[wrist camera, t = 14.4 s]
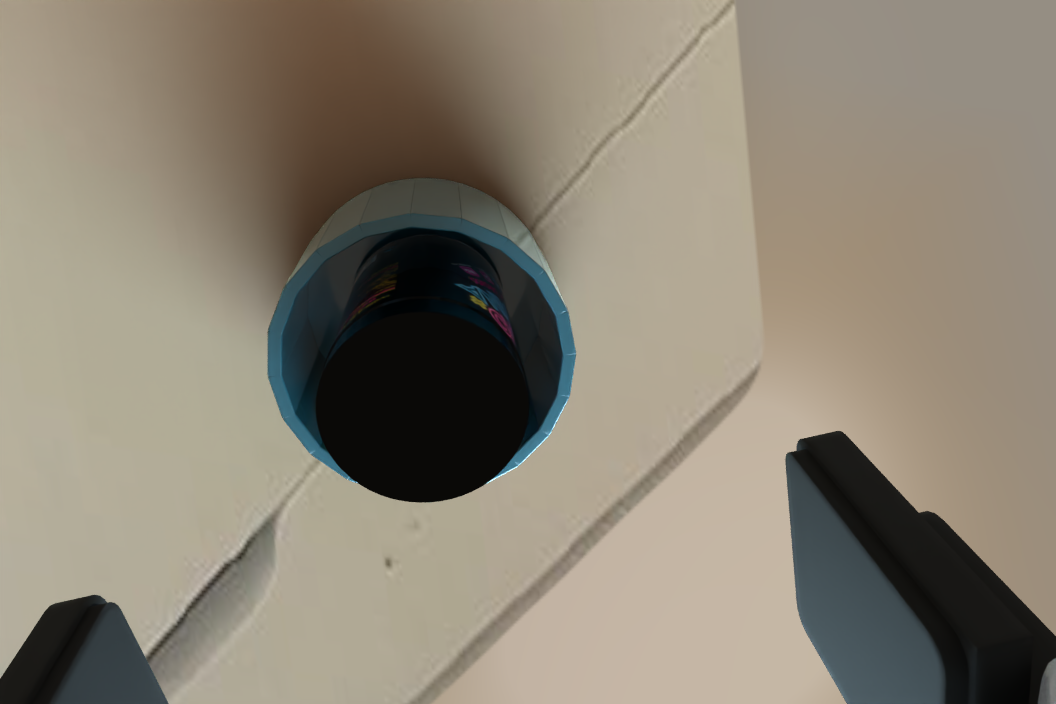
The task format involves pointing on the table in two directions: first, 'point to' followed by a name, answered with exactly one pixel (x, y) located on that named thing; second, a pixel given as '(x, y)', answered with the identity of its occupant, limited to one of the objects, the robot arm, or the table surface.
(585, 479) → the table surface
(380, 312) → the supplement container
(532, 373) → the cup
